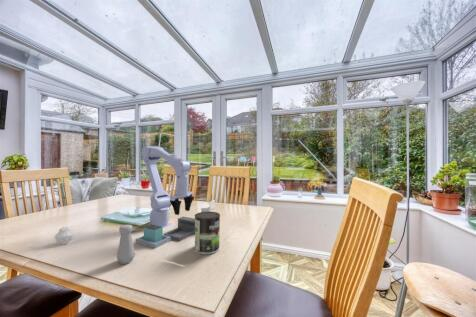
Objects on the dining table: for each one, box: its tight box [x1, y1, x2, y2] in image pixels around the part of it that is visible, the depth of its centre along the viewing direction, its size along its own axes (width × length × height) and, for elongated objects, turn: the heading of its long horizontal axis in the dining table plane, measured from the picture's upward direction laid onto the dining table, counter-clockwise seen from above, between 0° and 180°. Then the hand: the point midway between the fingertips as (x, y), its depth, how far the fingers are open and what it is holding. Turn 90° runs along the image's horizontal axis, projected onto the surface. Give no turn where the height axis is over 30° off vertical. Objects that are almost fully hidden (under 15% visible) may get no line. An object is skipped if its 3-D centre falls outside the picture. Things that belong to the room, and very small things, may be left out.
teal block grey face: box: [143, 224, 164, 243], centre depth 91 cm, size 4×7×6 cm, turn 64°
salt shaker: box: [116, 224, 136, 265], centre depth 75 cm, size 6×6×13 cm
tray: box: [135, 234, 172, 249], centre depth 91 cm, size 12×9×2 cm
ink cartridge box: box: [200, 198, 216, 212], centre depth 109 cm, size 9×5×15 cm, turn 168°
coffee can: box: [194, 211, 221, 255], centre depth 86 cm, size 10×10×14 cm
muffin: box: [54, 226, 74, 246], centre depth 89 cm, size 6×6×7 cm
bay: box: [163, 216, 195, 242], centre depth 100 cm, size 12×15×6 cm
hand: (182, 212), depth 103 cm, fingers open, 7 cm apart
